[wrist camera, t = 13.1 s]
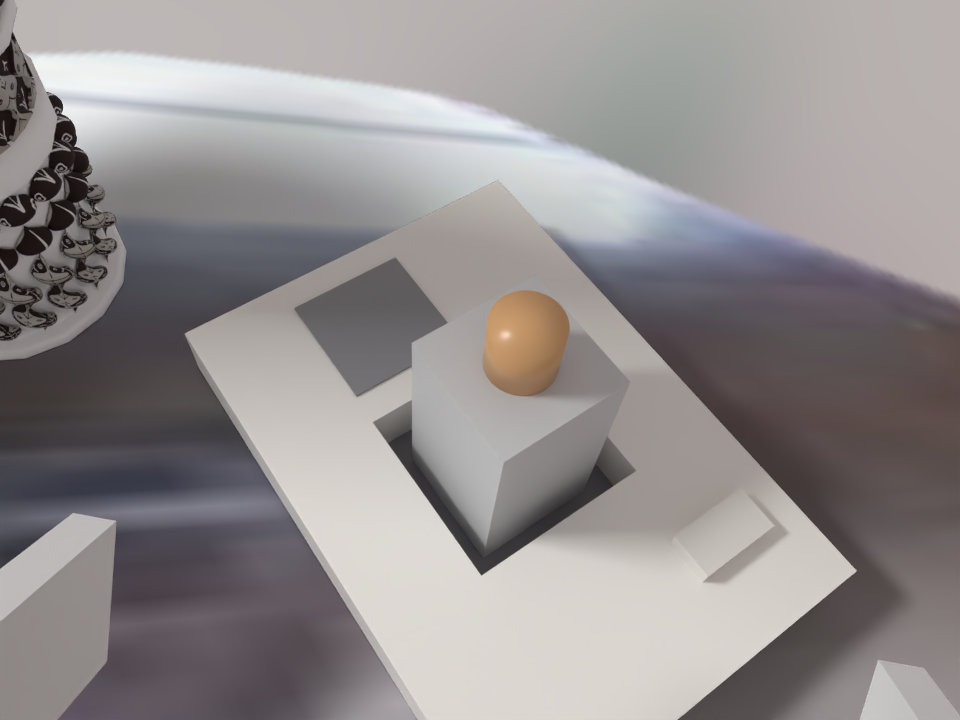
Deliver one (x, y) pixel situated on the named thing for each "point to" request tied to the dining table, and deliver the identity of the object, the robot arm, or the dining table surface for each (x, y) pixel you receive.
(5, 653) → the robot arm
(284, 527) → the dining table surface
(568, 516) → the socket plate
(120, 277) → the decorative candle
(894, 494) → the dining table surface
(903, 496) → the dining table surface
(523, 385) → the egg topped pedestal
